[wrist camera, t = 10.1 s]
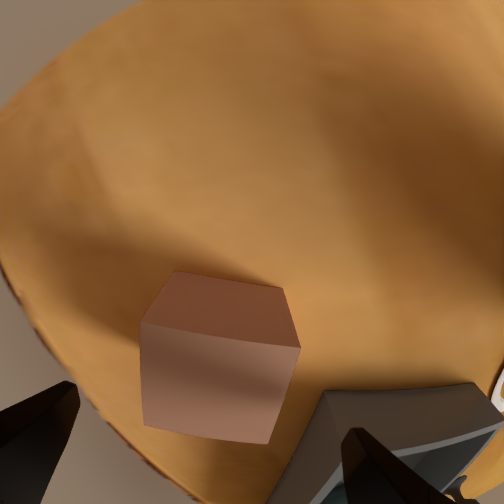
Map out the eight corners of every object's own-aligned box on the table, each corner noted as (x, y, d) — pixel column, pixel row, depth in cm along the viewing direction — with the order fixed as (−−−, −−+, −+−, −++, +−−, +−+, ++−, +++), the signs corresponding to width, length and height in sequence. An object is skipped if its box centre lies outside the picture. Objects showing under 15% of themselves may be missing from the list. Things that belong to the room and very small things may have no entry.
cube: (282, 287, 14) (301, 347, 9) (261, 372, 15) (267, 444, 10) (174, 269, 13) (139, 321, 8) (168, 357, 14) (143, 425, 10)
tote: (474, 382, 16) (506, 419, 11) (382, 498, 20) (393, 531, 16) (324, 390, 15) (345, 456, 10) (261, 509, 20) (263, 550, 15)
